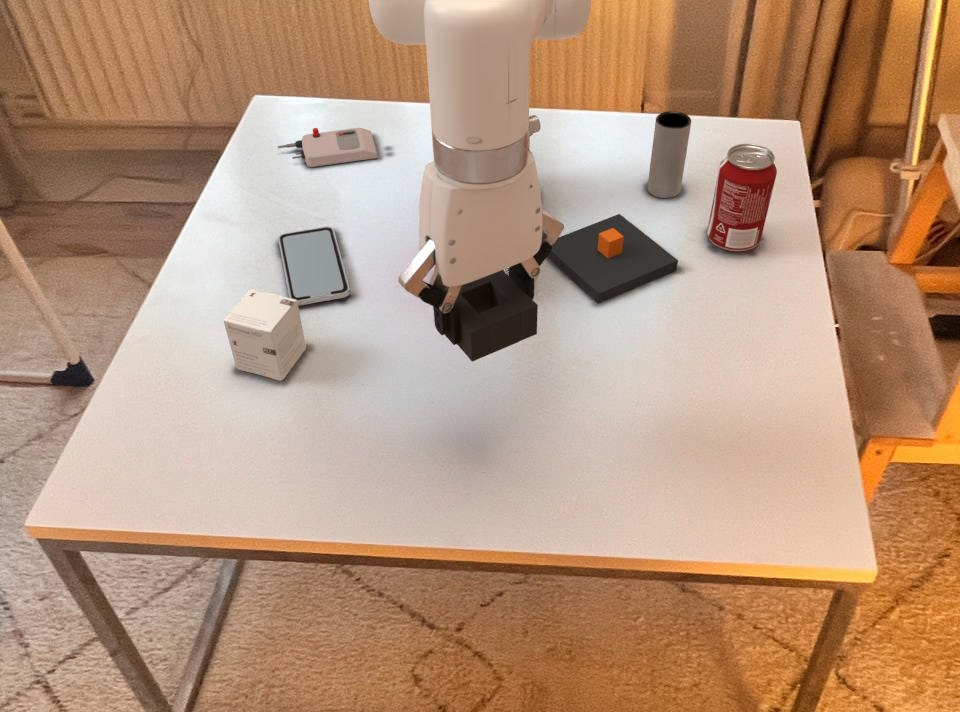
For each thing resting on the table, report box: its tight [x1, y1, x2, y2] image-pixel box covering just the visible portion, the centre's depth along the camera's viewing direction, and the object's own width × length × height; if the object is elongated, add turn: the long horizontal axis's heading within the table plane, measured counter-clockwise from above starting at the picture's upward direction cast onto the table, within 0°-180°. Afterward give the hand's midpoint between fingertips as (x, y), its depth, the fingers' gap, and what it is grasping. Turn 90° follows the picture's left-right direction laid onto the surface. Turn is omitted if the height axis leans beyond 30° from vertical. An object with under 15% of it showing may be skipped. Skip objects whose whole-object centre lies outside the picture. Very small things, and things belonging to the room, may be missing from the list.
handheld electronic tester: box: [277, 127, 378, 168], centre depth 134 cm, size 7×16×3 cm, turn 102°
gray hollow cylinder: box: [647, 110, 692, 199], centre depth 123 cm, size 4×4×10 cm
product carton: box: [223, 288, 307, 382], centre depth 103 cm, size 6×6×7 cm
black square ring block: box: [443, 269, 539, 363], centre depth 85 cm, size 7×7×4 cm
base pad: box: [546, 213, 679, 304], centre depth 115 cm, size 12×12×4 cm
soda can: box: [706, 143, 778, 252], centre depth 114 cm, size 7×7×12 cm
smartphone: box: [277, 226, 351, 306], centre depth 117 cm, size 7×1×15 cm
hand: (485, 319), depth 86 cm, fingers closed on black square ring block, 7 cm apart
